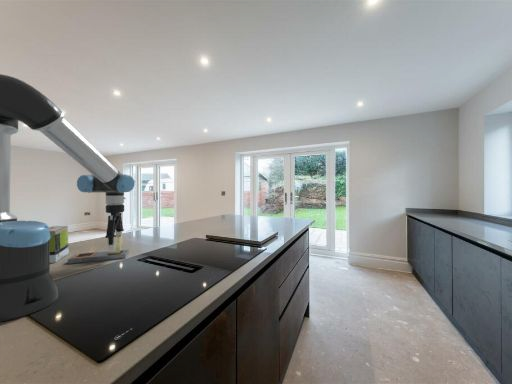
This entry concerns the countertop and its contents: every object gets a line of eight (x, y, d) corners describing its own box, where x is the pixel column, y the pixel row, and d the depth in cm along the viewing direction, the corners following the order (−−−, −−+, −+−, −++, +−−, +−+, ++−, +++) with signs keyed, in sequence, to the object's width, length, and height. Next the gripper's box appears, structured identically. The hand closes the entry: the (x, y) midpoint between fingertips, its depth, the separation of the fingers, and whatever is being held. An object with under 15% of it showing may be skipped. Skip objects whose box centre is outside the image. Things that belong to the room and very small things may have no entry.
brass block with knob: (119, 257, 100) (119, 236, 100) (108, 258, 99) (108, 237, 99) (121, 255, 105) (121, 234, 105) (111, 256, 103) (111, 235, 103)
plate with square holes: (125, 258, 100) (125, 253, 100) (67, 263, 92) (67, 258, 92) (128, 253, 107) (128, 248, 107) (75, 258, 99) (75, 253, 99)
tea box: (43, 256, 103) (42, 226, 103) (69, 253, 107) (69, 225, 107) (25, 266, 89) (25, 231, 89) (56, 263, 93) (55, 230, 93)
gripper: (117, 205, 91) (118, 254, 91) (129, 202, 114) (129, 241, 115) (97, 206, 89) (97, 256, 89) (113, 203, 112) (113, 242, 112)
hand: (115, 247), depth 102 cm, fingers open, 13 cm apart
